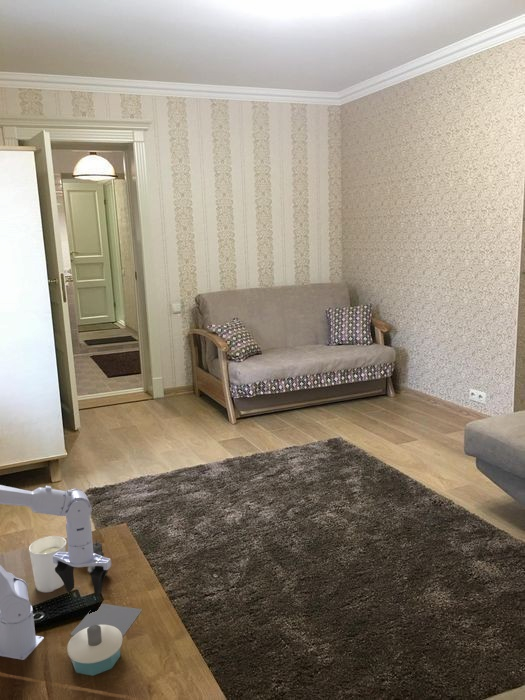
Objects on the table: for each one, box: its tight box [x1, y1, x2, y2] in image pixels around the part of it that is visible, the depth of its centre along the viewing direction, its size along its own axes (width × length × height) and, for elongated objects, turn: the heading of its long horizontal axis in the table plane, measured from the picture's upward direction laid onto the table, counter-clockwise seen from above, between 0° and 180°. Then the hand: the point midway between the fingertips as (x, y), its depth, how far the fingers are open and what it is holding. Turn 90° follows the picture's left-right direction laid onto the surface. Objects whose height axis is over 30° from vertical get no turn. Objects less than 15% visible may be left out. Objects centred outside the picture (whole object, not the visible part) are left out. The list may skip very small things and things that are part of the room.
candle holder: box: [28, 535, 67, 593], centre depth 166 cm, size 10×10×12 cm
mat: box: [69, 603, 143, 639], centre depth 149 cm, size 13×13×1 cm
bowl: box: [70, 648, 121, 677], centre depth 136 cm, size 10×10×4 cm
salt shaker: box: [87, 540, 109, 575], centre depth 168 cm, size 6×6×12 cm
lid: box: [66, 625, 123, 664], centre depth 135 cm, size 12×12×4 cm
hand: (84, 591), depth 146 cm, fingers open, 7 cm apart
